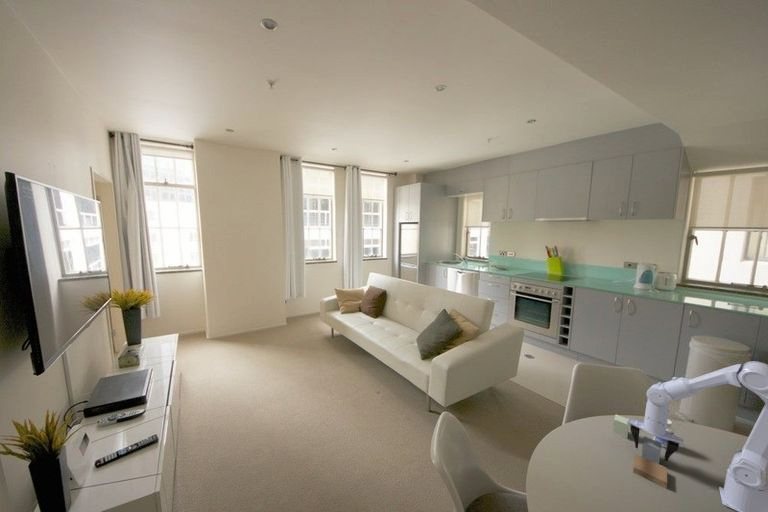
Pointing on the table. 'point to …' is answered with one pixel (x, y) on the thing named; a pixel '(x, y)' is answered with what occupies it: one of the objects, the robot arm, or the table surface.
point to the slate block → (651, 450)
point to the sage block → (620, 426)
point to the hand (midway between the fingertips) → (650, 452)
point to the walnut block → (650, 470)
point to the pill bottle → (668, 429)
